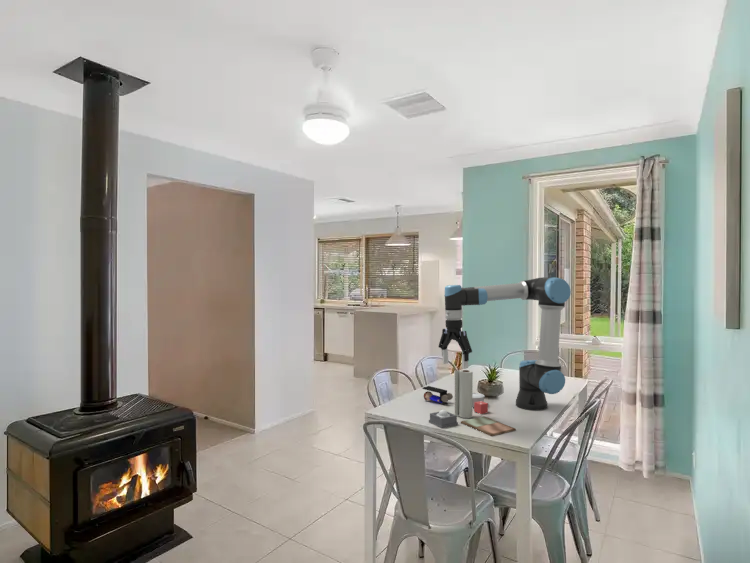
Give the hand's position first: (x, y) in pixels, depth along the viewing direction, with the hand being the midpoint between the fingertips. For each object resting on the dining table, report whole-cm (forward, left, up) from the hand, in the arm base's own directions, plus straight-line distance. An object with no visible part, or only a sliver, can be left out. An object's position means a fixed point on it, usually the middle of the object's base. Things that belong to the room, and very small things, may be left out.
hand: (455, 365), depth 205 cm
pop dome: (+8, +1, -23) cm, 25 cm away
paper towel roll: (-7, -2, -25) cm, 26 cm away
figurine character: (-10, -27, -25) cm, 38 cm away
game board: (-6, +14, -25) cm, 29 cm away
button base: (+8, +1, -25) cm, 26 cm away
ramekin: (-23, -14, -25) cm, 37 cm away
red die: (-18, -3, -25) cm, 31 cm away
